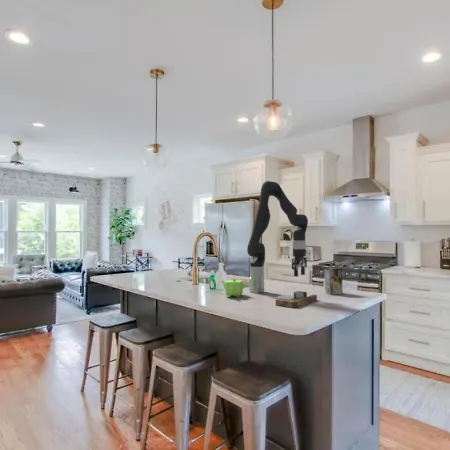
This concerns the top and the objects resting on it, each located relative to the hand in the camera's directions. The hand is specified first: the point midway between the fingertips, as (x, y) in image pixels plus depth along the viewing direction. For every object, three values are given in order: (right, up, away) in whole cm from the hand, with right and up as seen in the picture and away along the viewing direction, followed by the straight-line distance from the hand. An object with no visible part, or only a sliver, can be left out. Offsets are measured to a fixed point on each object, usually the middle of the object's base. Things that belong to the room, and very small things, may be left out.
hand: (299, 275), depth 200 cm
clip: (0, -14, 0) cm, 14 cm away
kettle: (-39, -16, +15) cm, 44 cm away
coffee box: (+26, -14, +18) cm, 34 cm away
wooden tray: (-3, -14, -8) cm, 16 cm away
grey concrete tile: (-7, -15, +6) cm, 17 cm away
